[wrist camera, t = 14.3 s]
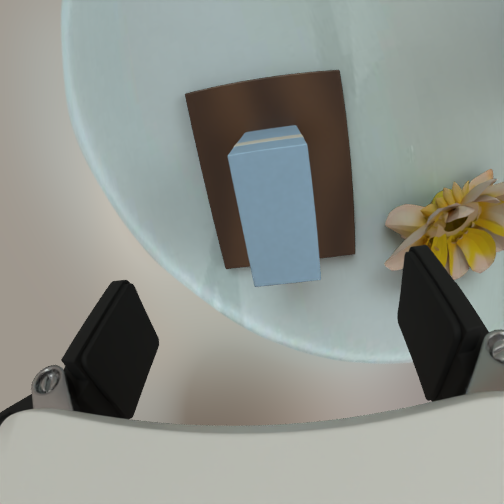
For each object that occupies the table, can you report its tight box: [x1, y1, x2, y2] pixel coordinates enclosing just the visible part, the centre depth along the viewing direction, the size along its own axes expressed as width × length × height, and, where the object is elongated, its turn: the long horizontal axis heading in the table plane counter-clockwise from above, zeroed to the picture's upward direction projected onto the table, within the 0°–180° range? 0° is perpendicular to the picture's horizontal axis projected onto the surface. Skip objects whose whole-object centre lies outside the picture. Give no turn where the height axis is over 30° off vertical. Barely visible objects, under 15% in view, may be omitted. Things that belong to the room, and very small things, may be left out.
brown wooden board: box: [185, 70, 355, 269], centre depth 25 cm, size 12×16×1 cm
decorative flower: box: [384, 169, 504, 280], centre depth 22 cm, size 15×11×10 cm
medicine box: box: [228, 125, 321, 287], centre depth 21 cm, size 4×8×9 cm, turn 10°
